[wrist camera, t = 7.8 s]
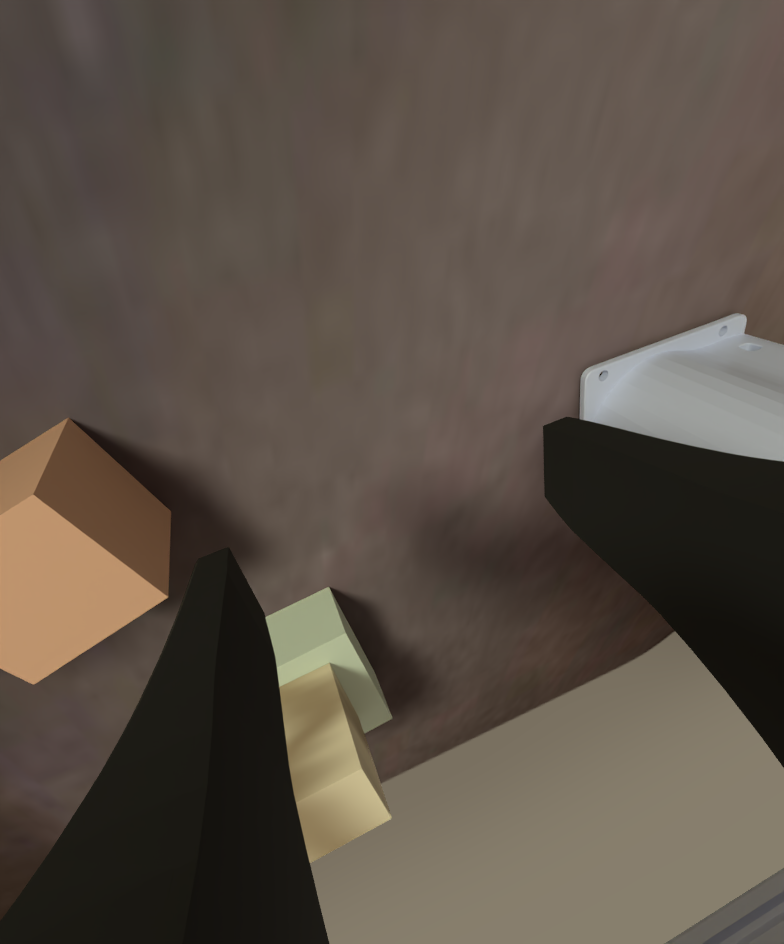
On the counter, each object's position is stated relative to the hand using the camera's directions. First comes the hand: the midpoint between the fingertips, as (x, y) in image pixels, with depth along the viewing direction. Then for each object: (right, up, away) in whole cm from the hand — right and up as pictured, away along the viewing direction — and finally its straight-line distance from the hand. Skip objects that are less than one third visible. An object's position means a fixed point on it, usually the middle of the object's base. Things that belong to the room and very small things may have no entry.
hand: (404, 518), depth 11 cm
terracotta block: (-12, 0, +7) cm, 14 cm away
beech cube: (-5, -11, +13) cm, 17 cm away
